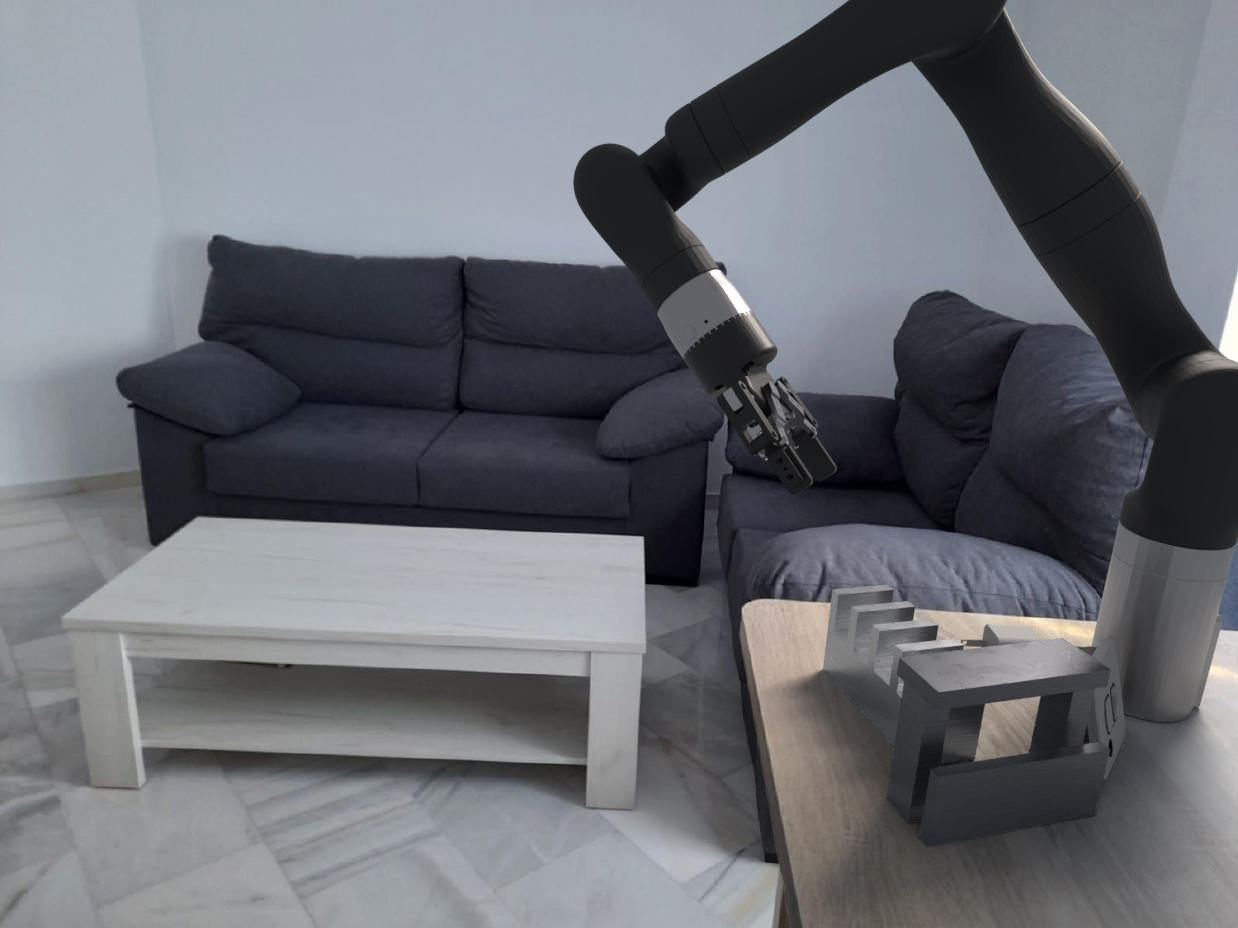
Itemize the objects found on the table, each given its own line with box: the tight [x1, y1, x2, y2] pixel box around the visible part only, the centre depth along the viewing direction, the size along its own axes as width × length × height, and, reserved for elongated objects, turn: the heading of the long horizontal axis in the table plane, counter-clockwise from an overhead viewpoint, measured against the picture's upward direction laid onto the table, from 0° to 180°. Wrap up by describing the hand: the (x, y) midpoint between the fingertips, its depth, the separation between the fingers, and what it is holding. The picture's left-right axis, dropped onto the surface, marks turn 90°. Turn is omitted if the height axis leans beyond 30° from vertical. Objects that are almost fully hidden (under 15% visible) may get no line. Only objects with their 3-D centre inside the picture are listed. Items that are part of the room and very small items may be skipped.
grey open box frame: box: [886, 637, 1111, 847], centre depth 68 cm, size 15×6×12 cm, turn 105°
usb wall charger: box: [960, 623, 1042, 648], centre depth 90 cm, size 4×7×4 cm, turn 88°
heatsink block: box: [822, 584, 986, 764], centre depth 80 cm, size 6×16×9 cm, turn 15°
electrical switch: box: [1075, 638, 1126, 782], centre depth 76 cm, size 9×5×9 cm, turn 141°
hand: (816, 482), depth 77 cm, fingers open, 8 cm apart
